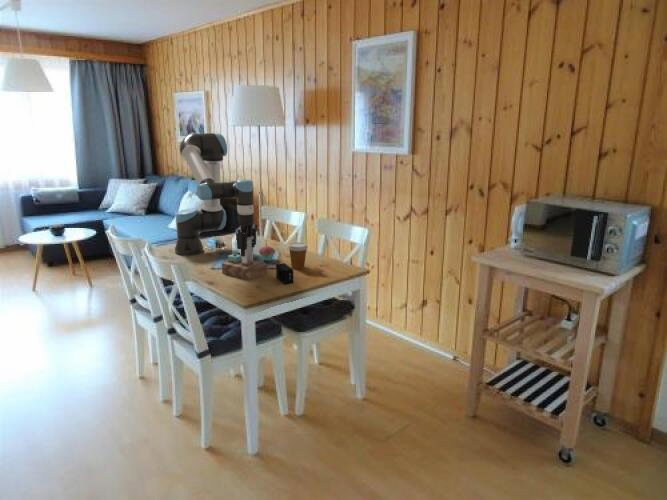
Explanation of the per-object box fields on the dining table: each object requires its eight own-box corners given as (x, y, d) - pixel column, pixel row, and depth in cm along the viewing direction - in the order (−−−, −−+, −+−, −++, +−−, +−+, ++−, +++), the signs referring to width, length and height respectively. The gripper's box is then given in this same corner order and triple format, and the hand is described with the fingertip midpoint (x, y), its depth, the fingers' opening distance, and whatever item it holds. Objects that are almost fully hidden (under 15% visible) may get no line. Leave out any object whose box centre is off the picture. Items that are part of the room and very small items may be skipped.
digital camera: (273, 278, 216) (273, 264, 214) (284, 276, 219) (284, 262, 217) (282, 285, 208) (282, 270, 206) (293, 283, 210) (293, 269, 208)
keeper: (228, 260, 224) (228, 254, 223) (234, 258, 227) (233, 252, 226) (235, 262, 221) (235, 255, 220) (241, 260, 224) (241, 253, 224)
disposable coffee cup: (304, 271, 227) (304, 247, 224) (286, 269, 229) (286, 246, 226) (309, 265, 236) (309, 242, 233) (291, 263, 238) (291, 241, 235)
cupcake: (273, 262, 240) (273, 240, 236) (257, 261, 240) (257, 239, 237) (276, 257, 248) (275, 236, 245) (260, 257, 248) (259, 235, 245)
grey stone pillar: (240, 267, 220) (239, 236, 216) (247, 265, 224) (246, 234, 219) (248, 269, 218) (246, 237, 213) (254, 266, 221) (253, 235, 217)
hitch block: (222, 272, 222) (221, 261, 221) (239, 266, 232) (238, 255, 230) (250, 280, 213) (250, 268, 212) (266, 273, 223) (266, 262, 221)
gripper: (239, 217, 205) (241, 267, 211) (263, 211, 218) (264, 258, 225) (227, 215, 208) (229, 264, 215) (251, 209, 222) (252, 256, 228)
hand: (247, 261), depth 220 cm, fingers closed on grey stone pillar, 3 cm apart
